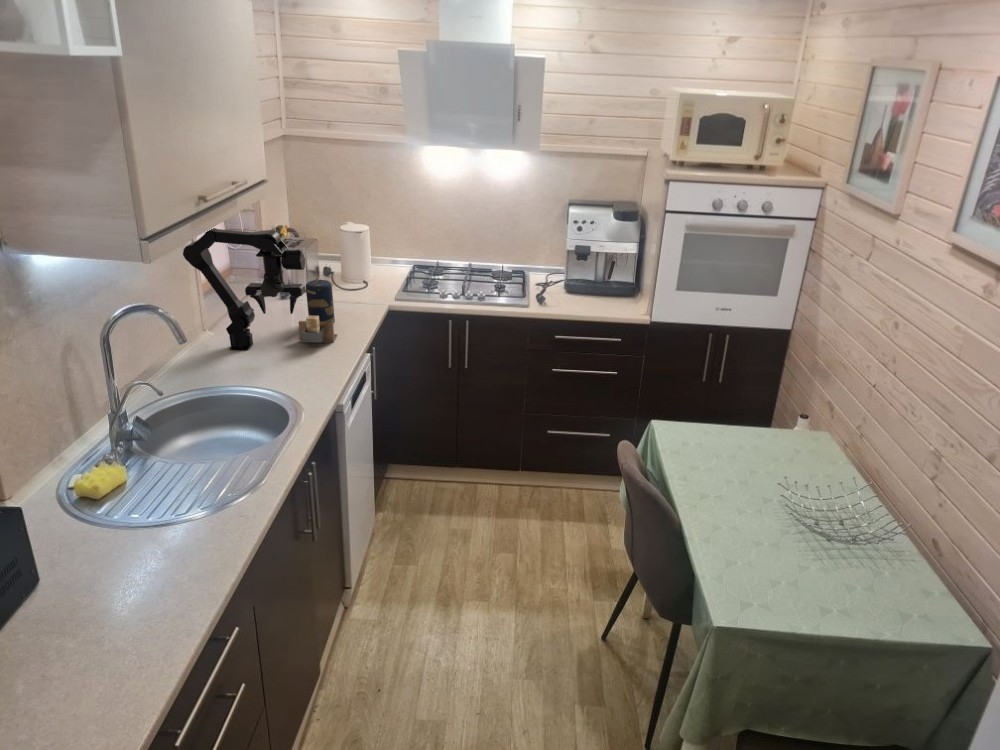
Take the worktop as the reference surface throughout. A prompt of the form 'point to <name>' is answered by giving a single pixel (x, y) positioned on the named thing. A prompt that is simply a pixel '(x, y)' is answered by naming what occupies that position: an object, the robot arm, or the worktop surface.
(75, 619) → the worktop surface
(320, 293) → the canister
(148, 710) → the worktop surface
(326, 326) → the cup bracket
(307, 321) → the rail end
